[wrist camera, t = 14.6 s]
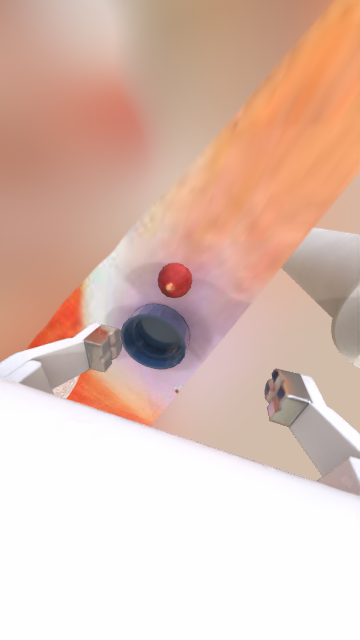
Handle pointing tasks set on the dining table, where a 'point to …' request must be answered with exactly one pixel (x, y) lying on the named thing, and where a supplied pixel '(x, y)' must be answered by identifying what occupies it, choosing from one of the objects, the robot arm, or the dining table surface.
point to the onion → (174, 280)
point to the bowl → (156, 336)
